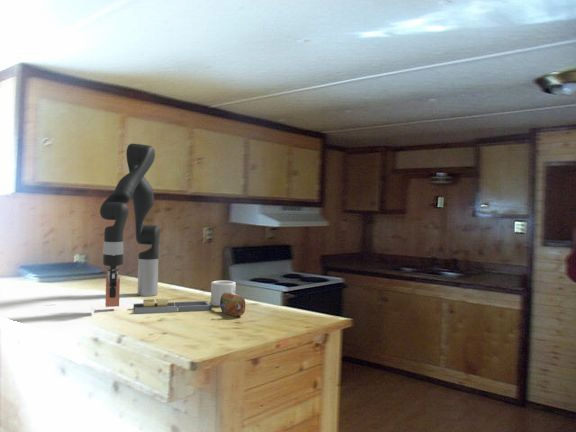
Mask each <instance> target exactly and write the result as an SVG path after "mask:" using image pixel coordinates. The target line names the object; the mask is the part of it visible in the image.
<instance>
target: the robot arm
mask: <svg viewBox="0 0 576 432" xmlns="http://www.w3.org/2000/svg"><path fill="white" fill-rule="evenodd" d="M155 151H156V150H155V148H154V147H153V146H151V145H148V144H142V143H129V144H128V145H127V147H126V163H127V166H128V167H127V168H128V173H127V174H125V175H123V177H122V178H120V179H119V181H118V183H117V185H116V187H115V188H114V190H113V192H111V194H109V196H108V197H107V198H106V199H105V200H104V201H103V202H102V204H101V206H100V209H99V213H100V217H101V218H102V219H103V220H106V221H114V224H113V225H109V226H106V227H105V228H104V234H103V235H104V237H103V239H104V241H103V252H102V253H103V254H102V264H103V266H105V267H106V266H107V267H108V266H109V269H107V277H108V282H110V285H109V287H110V298H115V297H116V287H117V285H116V282H117V281H118V277H119V268H117V267H120V266H122V265H124V252H125V251H124V250H125V249H124V246H125V245H124V230H125V227H126V223H127V219H128V218H129V207H128V205H127V204H128V203H129V202H130V201H131V198H132V204H133V212H134V221H135V222H134V225H135V230H134V231H135V239H136V242H137V244H139V245H149V246H150V245H151V247H150V248H148V249H145V250H144V251H141V252H139V253H138V262H137V263H138V265H137V296H141V297H151V296H156V295H158V285H159V254H160V253H159V251H160V250H159V249H160V248H159V247H160V238H161V237H160V236H161V232H160V231H161V229H160V227H159V226H158V225H155V224H154V225H152V224H151V225H149V224H147V225H146V224H145V225H144V221H145V218H146V217H147V215H148V214H149V212H150V211H151V210H152V208H153V206H154V204H155V197H154V190H153V187H152V185H151V184H150V182H149V181H148V180H147V178H146V177H145V176H146V173H148V171H150V168H151V167H152V165H153V163H154V162H155V157H156V152H155ZM111 282H115V284H111Z"/></svg>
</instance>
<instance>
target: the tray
mask: <svg viewBox="0 0 576 432" xmlns="http://www.w3.org/2000/svg"><path fill="white" fill-rule="evenodd" d="M174 303H175V306H177V307H178V312H177V313H181V312H182V313H184V312H205V311H212V310H213V309H212V306H213V305H211V302H209V301H207V300H201V301H200V300H199V301H198V300H197V301H195V300H194V301H192V300H191V301H190V300H189V301H175V302H174Z"/></svg>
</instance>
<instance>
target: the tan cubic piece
mask: <svg viewBox="0 0 576 432" xmlns="http://www.w3.org/2000/svg"><path fill="white" fill-rule="evenodd" d="M142 303H143V307H155V303H156V300H155V299H143V300H142Z"/></svg>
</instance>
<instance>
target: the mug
mask: <svg viewBox="0 0 576 432" xmlns="http://www.w3.org/2000/svg"><path fill="white" fill-rule="evenodd" d="M236 284H237V283H236V282H235V281H232V280H215V281H211V283H210V304H211V305H212V306H214V307H220V299H221V296H222V295H223V294H224V293H233V294H236V286H237V285H236ZM220 308H221V307H220Z"/></svg>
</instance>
